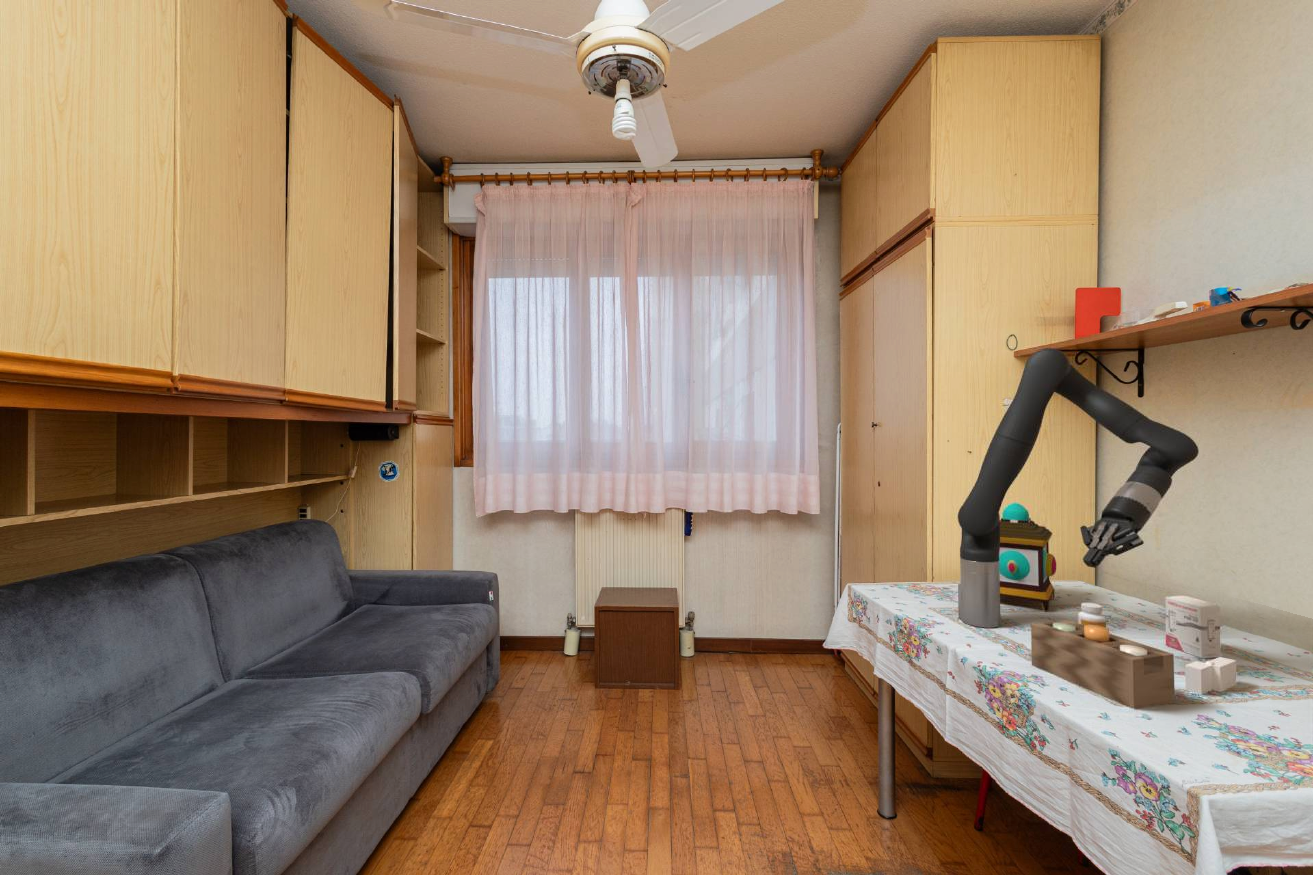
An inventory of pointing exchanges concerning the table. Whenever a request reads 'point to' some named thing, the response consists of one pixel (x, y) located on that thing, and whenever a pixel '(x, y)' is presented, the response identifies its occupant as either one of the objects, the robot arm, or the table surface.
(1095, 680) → the wooden egg holder
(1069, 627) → the sage egg
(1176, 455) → the robot arm
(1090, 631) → the orange egg
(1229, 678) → the white stepped block
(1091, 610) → the supplement bottle
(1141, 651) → the cream egg
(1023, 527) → the decorative lantern
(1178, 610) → the ink box
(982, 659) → the table surface
